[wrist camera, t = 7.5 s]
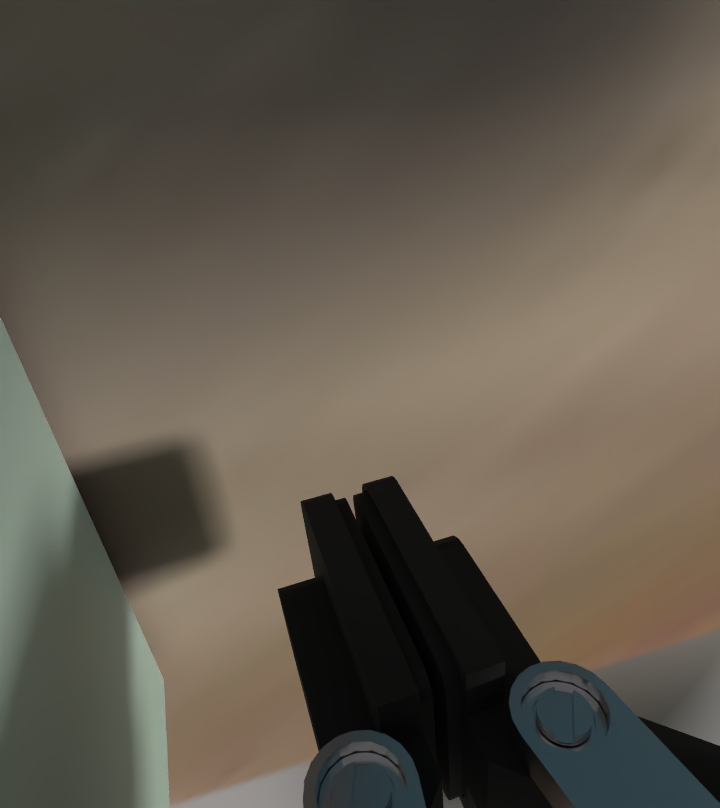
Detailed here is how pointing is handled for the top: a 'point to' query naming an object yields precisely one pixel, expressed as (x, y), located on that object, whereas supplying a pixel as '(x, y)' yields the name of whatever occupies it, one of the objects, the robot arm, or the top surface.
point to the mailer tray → (66, 636)
